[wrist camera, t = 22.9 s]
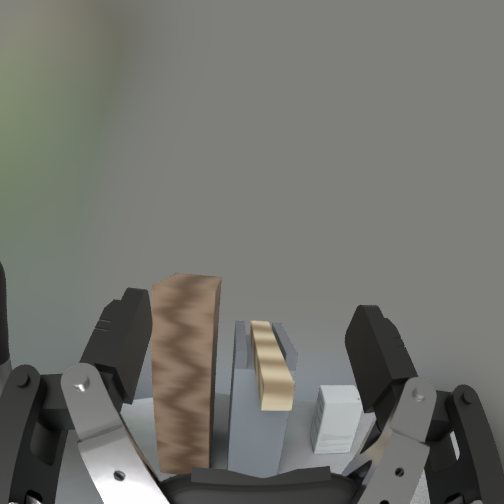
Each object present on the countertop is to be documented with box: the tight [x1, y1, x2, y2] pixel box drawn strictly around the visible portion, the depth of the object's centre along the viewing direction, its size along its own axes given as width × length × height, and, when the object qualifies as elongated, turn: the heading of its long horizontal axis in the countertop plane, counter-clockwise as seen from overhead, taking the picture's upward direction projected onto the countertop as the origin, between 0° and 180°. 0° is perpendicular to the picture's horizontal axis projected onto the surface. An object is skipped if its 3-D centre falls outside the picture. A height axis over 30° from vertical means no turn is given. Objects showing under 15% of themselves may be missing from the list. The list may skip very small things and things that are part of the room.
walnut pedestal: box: [151, 273, 221, 475], centre depth 43 cm, size 8×15×32 cm, turn 3°
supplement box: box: [310, 385, 363, 454], centre depth 47 cm, size 7×7×13 cm
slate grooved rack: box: [227, 321, 298, 478], centre depth 44 cm, size 8×15×24 cm, turn 3°
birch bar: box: [250, 321, 295, 411], centre depth 38 cm, size 24×3×3 cm, turn 3°
